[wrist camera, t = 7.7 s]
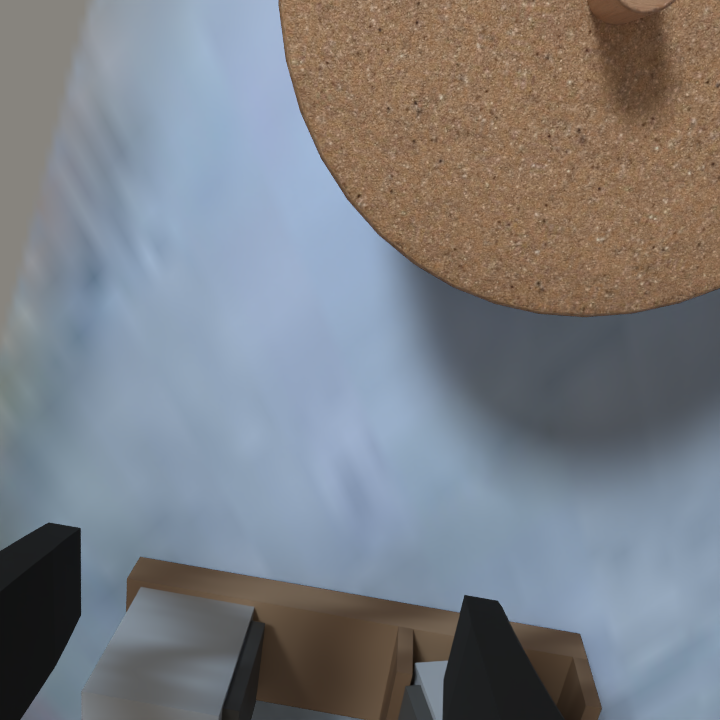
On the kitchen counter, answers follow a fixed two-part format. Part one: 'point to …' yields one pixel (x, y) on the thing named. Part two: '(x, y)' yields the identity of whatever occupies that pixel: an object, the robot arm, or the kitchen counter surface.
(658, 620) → the kitchen counter surface
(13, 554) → the robot arm
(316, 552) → the kitchen counter surface
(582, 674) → the rail
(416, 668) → the block
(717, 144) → the lidded jar
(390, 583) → the kitchen counter surface
